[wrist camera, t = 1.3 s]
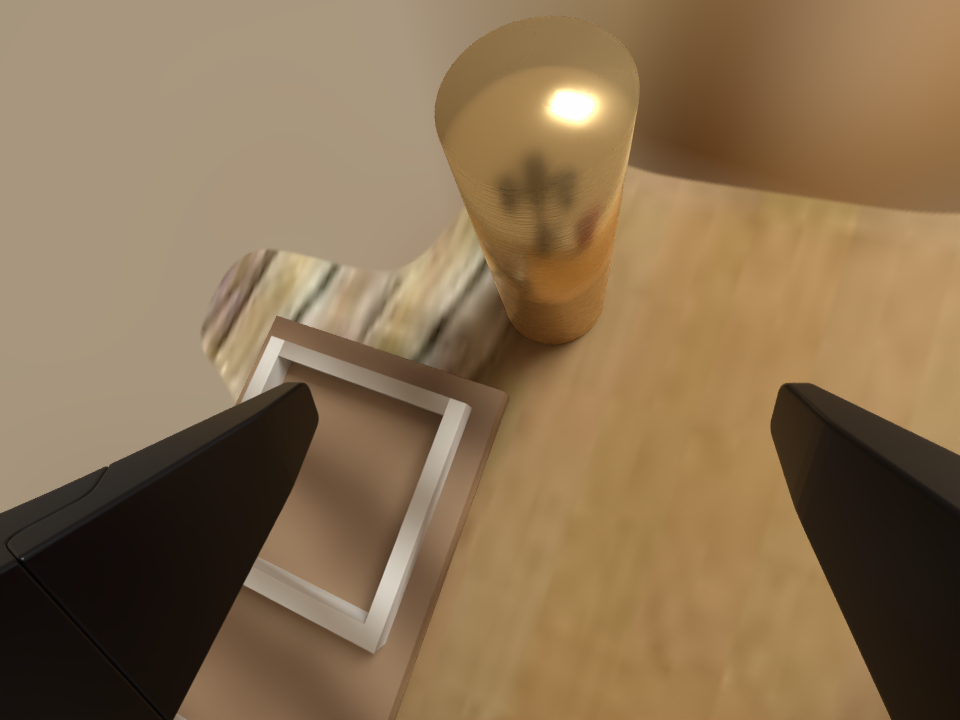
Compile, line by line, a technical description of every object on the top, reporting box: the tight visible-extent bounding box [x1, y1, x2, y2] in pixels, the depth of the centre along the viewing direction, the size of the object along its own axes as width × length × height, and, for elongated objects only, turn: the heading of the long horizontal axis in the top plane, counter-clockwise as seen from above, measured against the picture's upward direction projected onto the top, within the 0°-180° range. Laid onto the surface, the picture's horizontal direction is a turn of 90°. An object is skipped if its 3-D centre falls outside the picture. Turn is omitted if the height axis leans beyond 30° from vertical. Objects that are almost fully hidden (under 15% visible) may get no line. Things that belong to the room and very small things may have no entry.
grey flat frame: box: [174, 316, 509, 720], centre depth 21 cm, size 30×13×3 cm, turn 160°
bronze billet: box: [435, 16, 640, 344], centre depth 18 cm, size 5×5×13 cm
